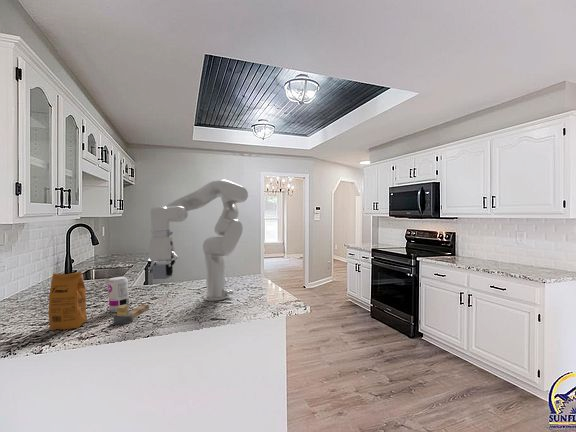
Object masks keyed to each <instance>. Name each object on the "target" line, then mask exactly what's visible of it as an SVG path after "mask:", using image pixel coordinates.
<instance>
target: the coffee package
mask: <svg viewBox="0 0 576 432" xmlns="http://www.w3.org/2000/svg"><path fill="white" fill-rule="evenodd" d="M85 286H86V285H85V281H84V279H83V273H82V272H81V271H77V272H71V273H67V274H66V273H63V274H62V273H55V272H54V273H53V275H52V279H51V282H50V289H49V295H48V323H49V331H50V330H52V331H57V330H61V331H66V330H65V329H68V330H73V328H74V329H78V328H80V327H81V326H82V325H83V324H84V323H86V322H87V321H88V316H87V309H86V306H87V302H86V301H87V298H86V294H87V293H86V291H87V289H86V287H85ZM56 329H57V330H56ZM62 329H63V330H62Z"/></svg>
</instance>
